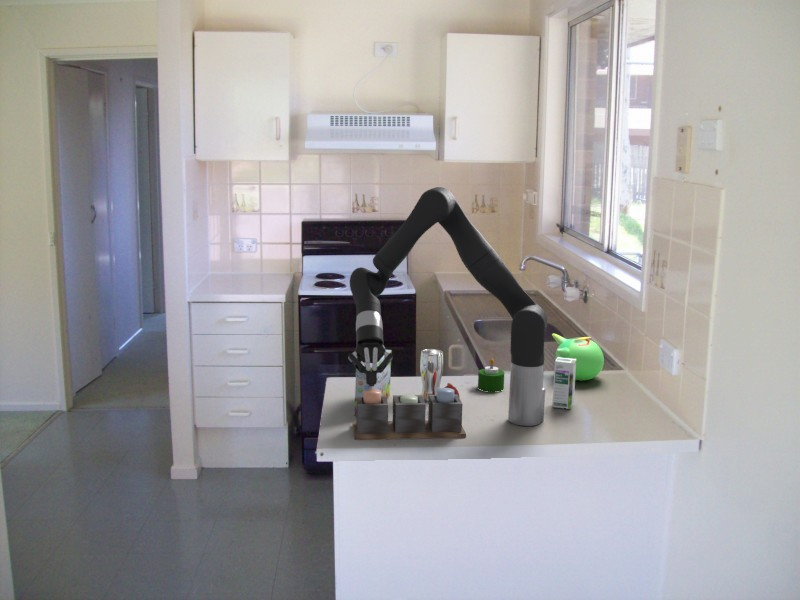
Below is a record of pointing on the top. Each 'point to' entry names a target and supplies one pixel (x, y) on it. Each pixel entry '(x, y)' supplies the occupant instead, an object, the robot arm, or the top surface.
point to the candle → (491, 378)
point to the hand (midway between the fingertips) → (371, 385)
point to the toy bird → (581, 355)
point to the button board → (409, 419)
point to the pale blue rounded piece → (445, 395)
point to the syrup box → (564, 383)
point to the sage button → (408, 399)
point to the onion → (452, 388)
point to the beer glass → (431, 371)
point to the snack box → (381, 384)
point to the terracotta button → (372, 396)
